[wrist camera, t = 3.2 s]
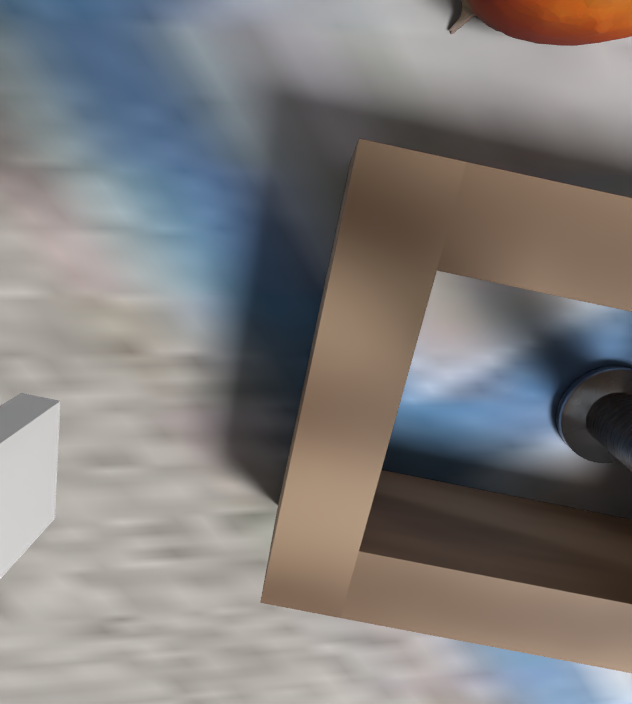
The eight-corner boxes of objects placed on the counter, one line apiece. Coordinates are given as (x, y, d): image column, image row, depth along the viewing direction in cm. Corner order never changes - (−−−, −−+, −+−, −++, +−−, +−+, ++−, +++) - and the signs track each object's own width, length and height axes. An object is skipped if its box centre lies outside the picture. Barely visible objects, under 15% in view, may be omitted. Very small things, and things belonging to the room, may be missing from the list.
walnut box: (671, 582, 24) (779, 701, 18) (278, 505, 23) (260, 602, 18) (836, 265, 19) (1049, 289, 14) (350, 160, 19) (359, 138, 13)
